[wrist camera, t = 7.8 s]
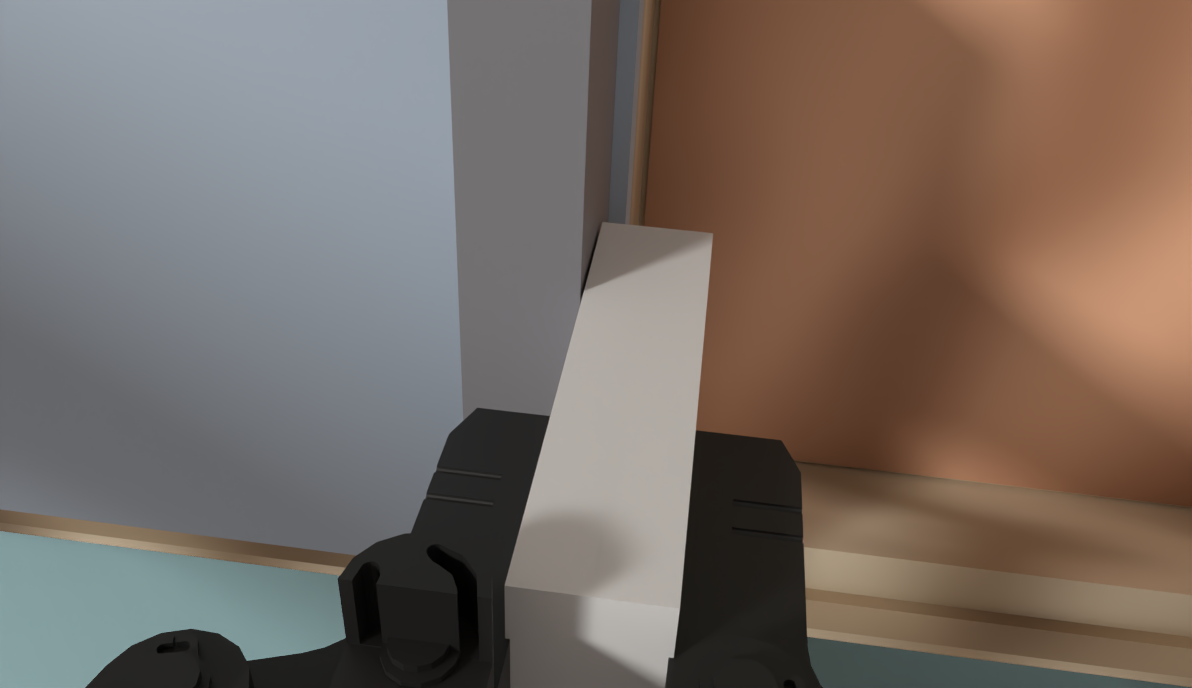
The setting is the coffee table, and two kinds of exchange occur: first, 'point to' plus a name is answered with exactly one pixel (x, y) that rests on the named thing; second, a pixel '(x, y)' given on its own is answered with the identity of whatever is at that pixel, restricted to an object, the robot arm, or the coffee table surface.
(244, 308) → the lid
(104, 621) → the coffee table surface
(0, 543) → the coffee table surface
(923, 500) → the board
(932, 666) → the coffee table surface
